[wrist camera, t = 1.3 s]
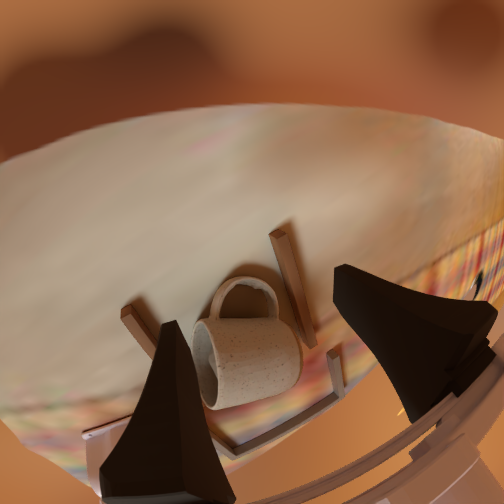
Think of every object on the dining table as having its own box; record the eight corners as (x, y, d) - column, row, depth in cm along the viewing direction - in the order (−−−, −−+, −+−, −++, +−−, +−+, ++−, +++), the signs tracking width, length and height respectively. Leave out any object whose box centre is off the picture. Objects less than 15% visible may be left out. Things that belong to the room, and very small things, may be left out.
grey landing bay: (229, 453, 33) (232, 460, 32) (194, 425, 28) (197, 434, 27) (339, 391, 38) (345, 396, 36) (332, 349, 32) (339, 355, 31)
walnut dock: (194, 400, 27) (197, 410, 25) (121, 309, 20) (120, 319, 19) (310, 337, 30) (317, 344, 29) (278, 229, 24) (287, 233, 22)
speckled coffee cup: (263, 360, 28) (298, 408, 22) (188, 369, 25) (210, 427, 18) (282, 271, 25) (333, 309, 19) (195, 270, 22) (223, 318, 15)
